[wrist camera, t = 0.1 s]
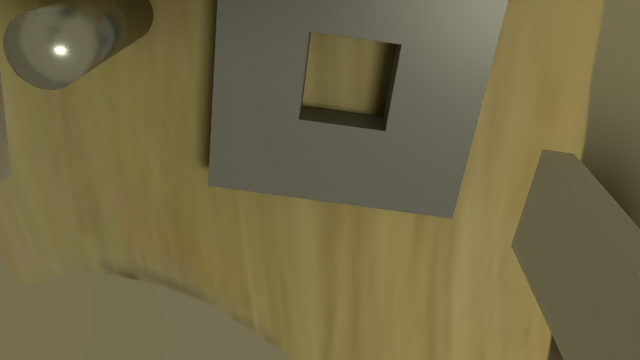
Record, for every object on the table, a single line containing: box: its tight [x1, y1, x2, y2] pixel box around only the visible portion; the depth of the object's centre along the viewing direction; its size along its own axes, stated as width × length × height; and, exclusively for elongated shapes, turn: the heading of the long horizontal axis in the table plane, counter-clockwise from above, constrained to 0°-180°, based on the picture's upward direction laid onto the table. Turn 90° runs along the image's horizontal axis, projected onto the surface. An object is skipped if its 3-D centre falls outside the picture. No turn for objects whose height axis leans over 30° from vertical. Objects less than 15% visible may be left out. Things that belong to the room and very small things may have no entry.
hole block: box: [208, 0, 508, 218], centre depth 40 cm, size 18×18×3 cm
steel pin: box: [3, 0, 153, 90], centre depth 35 cm, size 4×4×12 cm
